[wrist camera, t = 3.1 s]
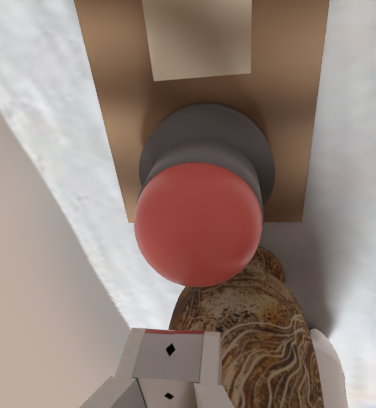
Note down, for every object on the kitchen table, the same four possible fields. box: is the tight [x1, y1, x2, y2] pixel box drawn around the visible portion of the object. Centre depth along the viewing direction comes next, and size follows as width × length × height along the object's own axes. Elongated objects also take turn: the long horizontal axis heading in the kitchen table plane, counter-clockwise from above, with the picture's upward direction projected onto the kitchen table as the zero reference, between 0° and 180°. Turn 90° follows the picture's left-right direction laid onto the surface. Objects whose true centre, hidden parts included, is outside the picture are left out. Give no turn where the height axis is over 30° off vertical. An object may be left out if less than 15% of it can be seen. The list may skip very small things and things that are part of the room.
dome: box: [134, 138, 264, 287], centre depth 16 cm, size 7×7×7 cm
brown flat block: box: [74, 0, 329, 223], centre depth 18 cm, size 19×14×3 cm
